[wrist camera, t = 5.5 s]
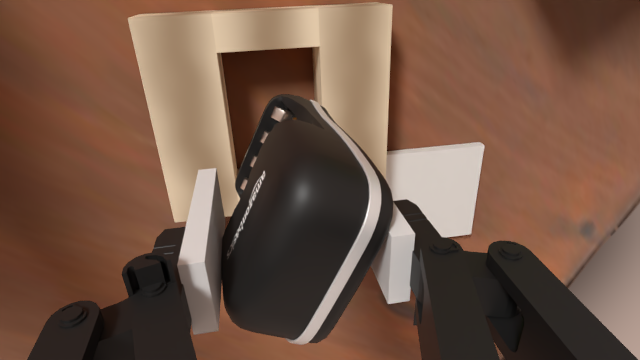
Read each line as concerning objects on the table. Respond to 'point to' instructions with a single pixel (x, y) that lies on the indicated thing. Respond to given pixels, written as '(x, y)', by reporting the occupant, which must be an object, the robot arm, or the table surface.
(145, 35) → the holder block
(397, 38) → the table surface
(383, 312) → the table surface
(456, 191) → the white square tile
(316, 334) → the battery charger
